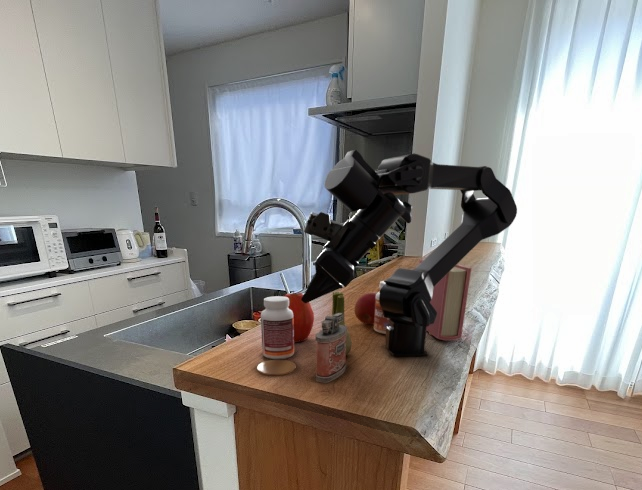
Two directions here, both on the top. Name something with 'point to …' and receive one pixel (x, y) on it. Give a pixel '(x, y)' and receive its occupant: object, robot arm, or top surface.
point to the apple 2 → (366, 308)
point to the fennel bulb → (339, 308)
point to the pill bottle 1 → (277, 328)
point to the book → (450, 303)
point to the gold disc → (276, 367)
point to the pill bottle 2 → (380, 315)
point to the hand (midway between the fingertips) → (306, 294)
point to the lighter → (331, 349)
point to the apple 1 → (300, 316)
